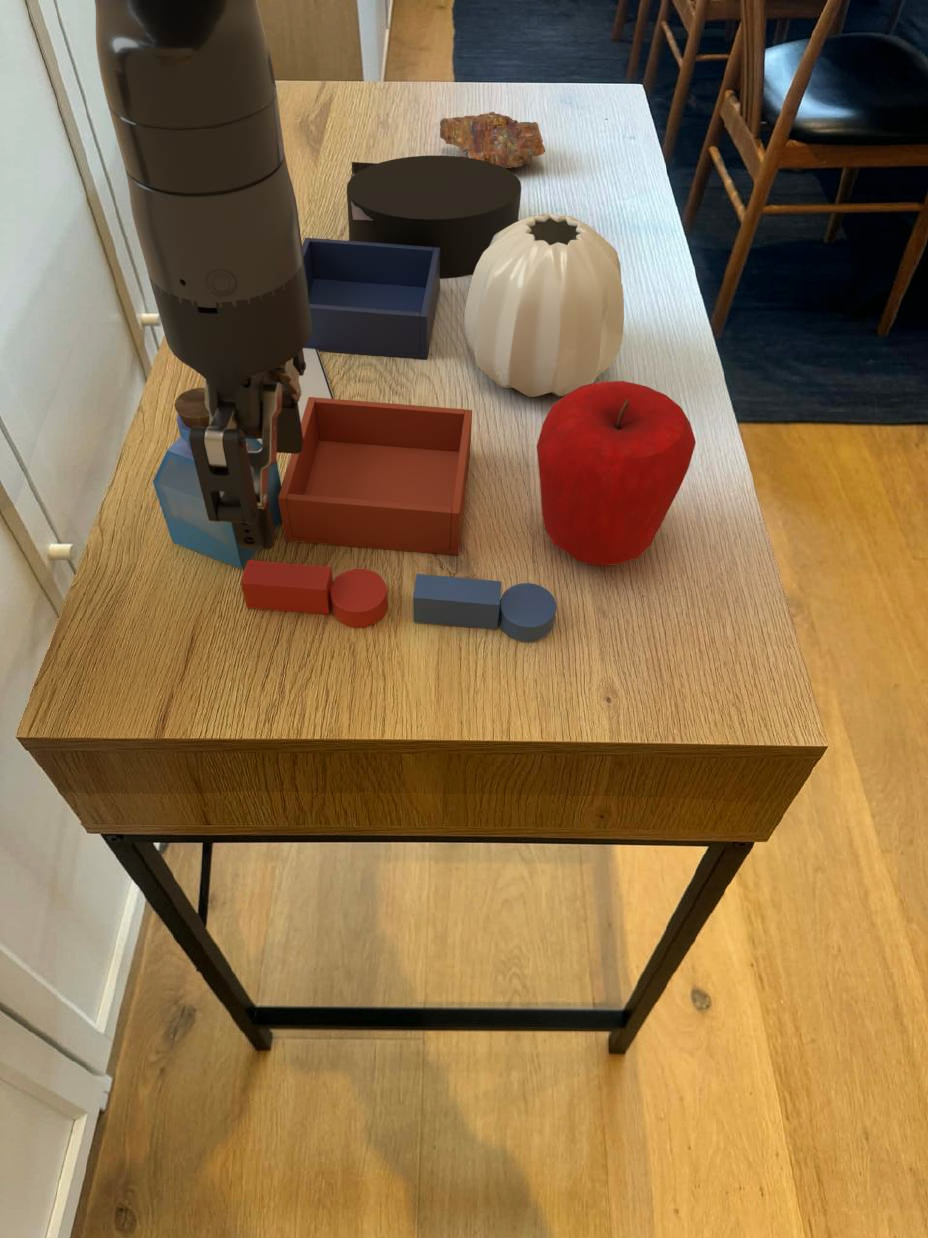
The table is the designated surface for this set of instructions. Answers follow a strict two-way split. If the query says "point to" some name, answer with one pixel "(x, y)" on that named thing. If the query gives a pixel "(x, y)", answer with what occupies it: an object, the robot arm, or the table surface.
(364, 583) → the red spoon
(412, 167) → the black oval cylinder
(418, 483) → the terracotta bin
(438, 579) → the blue spoon
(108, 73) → the robot arm
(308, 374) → the smartphone
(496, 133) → the mineral specimen
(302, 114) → the table surface
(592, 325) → the vase
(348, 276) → the navy bin
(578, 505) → the apple
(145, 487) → the table surface
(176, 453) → the perfume bottle
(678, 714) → the table surface
